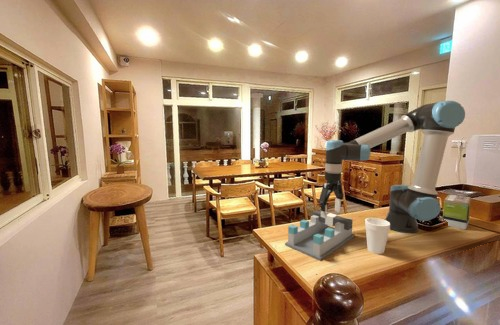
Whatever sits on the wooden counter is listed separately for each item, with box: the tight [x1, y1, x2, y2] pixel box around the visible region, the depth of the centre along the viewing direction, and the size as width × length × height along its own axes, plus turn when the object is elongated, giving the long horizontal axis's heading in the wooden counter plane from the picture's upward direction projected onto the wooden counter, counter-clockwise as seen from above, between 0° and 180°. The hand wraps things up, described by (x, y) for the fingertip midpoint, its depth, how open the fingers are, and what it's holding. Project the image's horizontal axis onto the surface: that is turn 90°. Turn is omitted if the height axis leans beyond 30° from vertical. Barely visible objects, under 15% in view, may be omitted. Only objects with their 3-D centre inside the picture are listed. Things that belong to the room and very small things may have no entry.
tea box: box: [442, 194, 472, 231], centre depth 127 cm, size 15×10×15 cm, turn 133°
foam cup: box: [364, 217, 391, 255], centre depth 99 cm, size 10×9×13 cm
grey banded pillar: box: [311, 209, 353, 230], centre depth 115 cm, size 19×5×5 cm, turn 42°
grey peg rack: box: [284, 211, 356, 262], centre depth 109 cm, size 18×32×9 cm, turn 132°
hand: (330, 214), depth 114 cm, fingers open, 13 cm apart
